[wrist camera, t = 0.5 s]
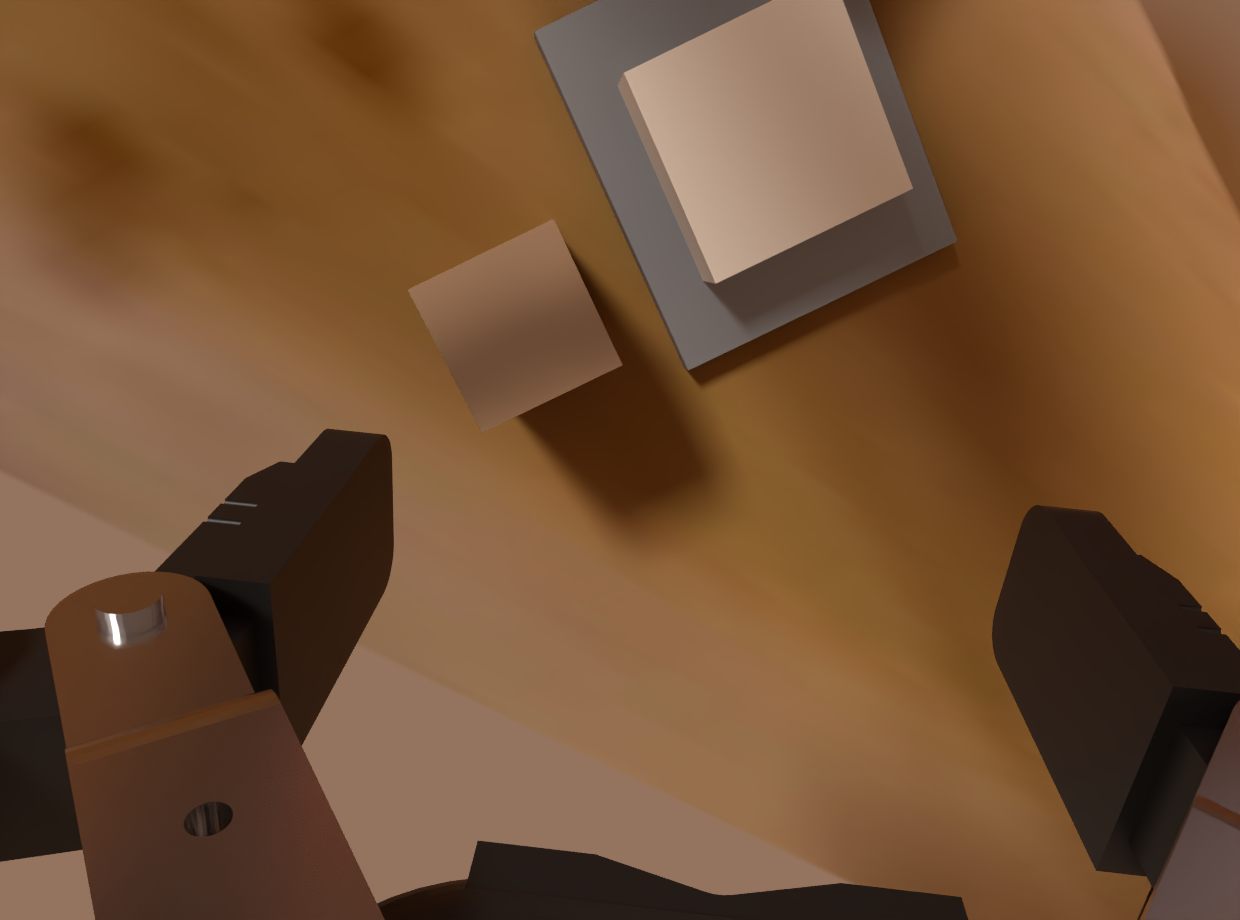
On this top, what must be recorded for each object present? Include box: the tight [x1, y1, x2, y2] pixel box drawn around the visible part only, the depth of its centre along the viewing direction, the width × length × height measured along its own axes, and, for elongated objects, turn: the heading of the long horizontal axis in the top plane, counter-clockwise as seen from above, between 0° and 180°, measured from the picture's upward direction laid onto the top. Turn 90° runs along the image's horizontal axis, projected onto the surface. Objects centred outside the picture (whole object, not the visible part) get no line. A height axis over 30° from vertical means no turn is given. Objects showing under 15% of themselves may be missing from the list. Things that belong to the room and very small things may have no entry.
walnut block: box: [408, 219, 622, 433], centre depth 34 cm, size 5×5×9 cm
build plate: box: [534, 0, 957, 370], centre depth 36 cm, size 14×12×4 cm
